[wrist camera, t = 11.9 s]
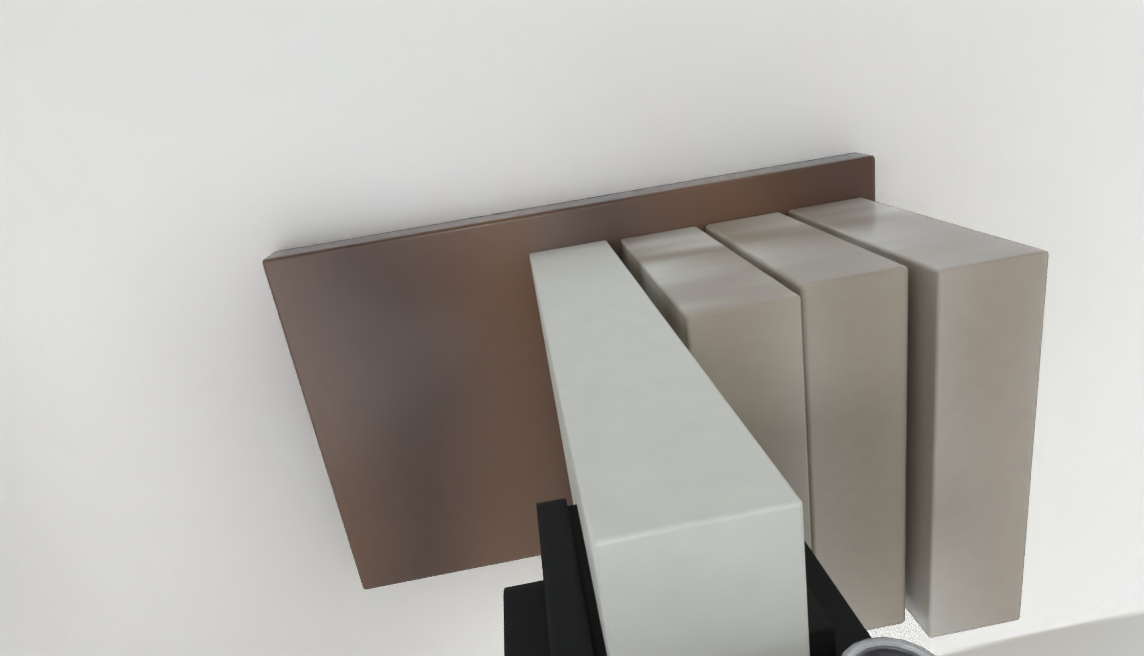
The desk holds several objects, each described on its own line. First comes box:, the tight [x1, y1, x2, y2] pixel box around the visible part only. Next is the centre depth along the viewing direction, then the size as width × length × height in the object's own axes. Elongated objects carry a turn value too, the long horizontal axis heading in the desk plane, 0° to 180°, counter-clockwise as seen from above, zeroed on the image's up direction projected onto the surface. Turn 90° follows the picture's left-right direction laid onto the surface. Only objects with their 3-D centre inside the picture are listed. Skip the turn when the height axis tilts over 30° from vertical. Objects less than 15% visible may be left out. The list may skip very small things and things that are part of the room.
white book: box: [529, 240, 810, 656], centre depth 13 cm, size 2×8×12 cm, turn 8°
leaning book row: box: [263, 153, 1048, 638], centre depth 16 cm, size 16×10×8 cm, turn 99°
